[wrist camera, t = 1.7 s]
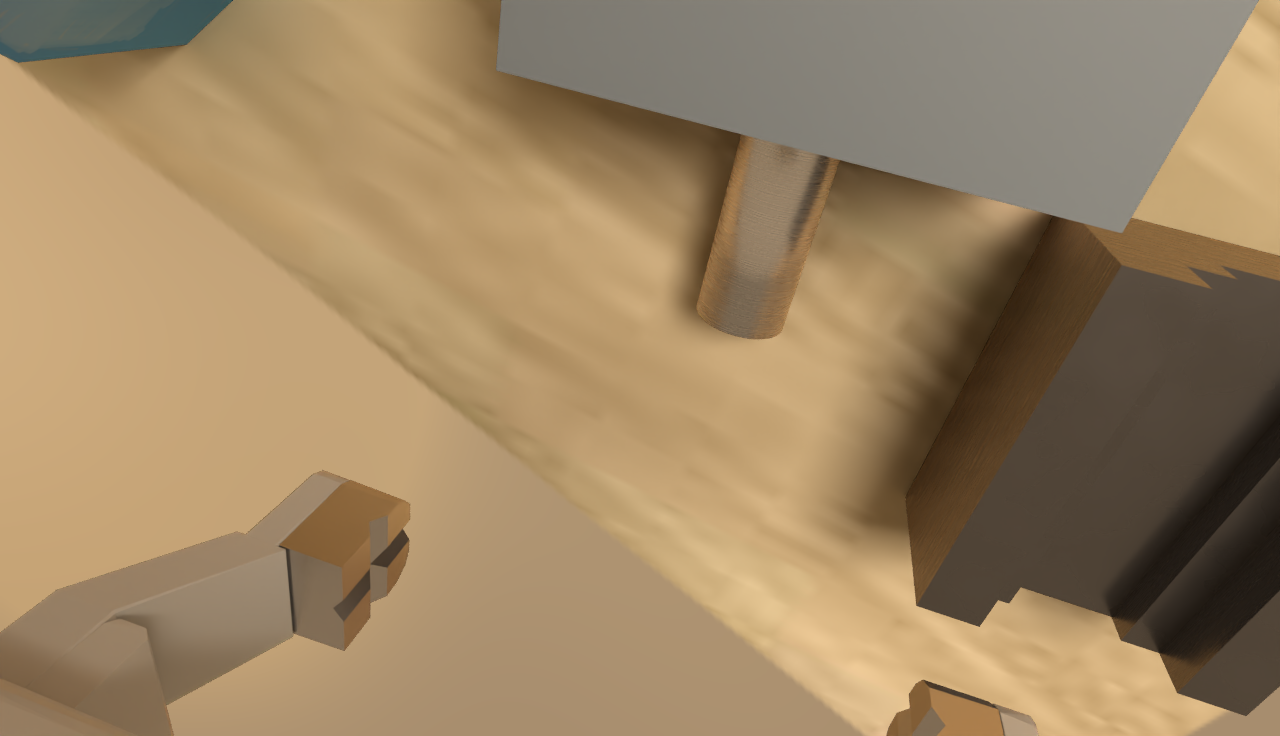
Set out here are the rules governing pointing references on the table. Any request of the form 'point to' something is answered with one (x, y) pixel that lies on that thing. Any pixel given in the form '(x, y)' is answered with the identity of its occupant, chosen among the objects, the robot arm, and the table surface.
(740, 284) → the axle
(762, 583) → the table surface
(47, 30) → the perfume bottle
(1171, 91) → the grey block
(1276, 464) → the v block
